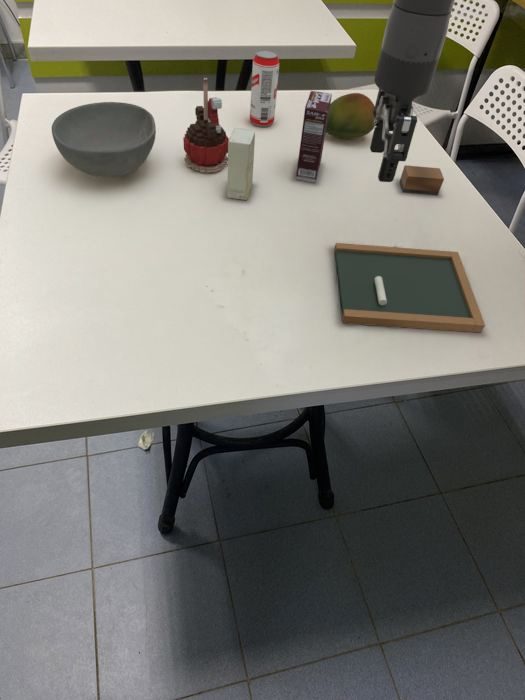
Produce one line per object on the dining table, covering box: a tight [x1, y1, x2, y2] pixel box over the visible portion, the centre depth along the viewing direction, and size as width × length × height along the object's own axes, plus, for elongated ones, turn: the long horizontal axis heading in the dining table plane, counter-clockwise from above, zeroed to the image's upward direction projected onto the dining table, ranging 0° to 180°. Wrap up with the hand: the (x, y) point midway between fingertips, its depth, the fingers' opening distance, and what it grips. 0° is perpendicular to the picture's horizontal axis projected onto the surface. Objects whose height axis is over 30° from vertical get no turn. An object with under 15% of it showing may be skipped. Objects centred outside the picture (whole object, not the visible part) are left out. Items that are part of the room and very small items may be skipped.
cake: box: [182, 77, 230, 173], centre depth 104 cm, size 11×9×18 cm
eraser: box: [399, 164, 445, 196], centre depth 109 cm, size 8×4×4 cm, turn 89°
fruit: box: [326, 92, 376, 140], centre depth 120 cm, size 12×12×10 cm
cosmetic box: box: [226, 127, 256, 201], centre depth 100 cm, size 6×4×12 cm
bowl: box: [51, 101, 157, 178], centre depth 103 cm, size 20×20×10 cm
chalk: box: [374, 276, 387, 306], centre depth 85 cm, size 1×6×1 cm, turn 179°
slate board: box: [333, 242, 486, 333], centre depth 88 cm, size 24×19×2 cm
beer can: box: [249, 48, 280, 128], centre depth 119 cm, size 6×6×16 cm
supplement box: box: [295, 90, 333, 183], centre depth 106 cm, size 9×5×16 cm, turn 168°
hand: (380, 165), depth 75 cm, fingers open, 8 cm apart
